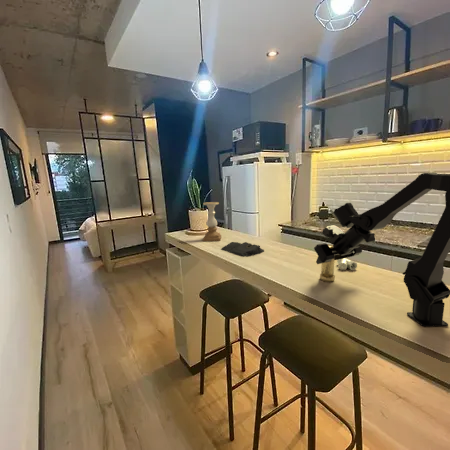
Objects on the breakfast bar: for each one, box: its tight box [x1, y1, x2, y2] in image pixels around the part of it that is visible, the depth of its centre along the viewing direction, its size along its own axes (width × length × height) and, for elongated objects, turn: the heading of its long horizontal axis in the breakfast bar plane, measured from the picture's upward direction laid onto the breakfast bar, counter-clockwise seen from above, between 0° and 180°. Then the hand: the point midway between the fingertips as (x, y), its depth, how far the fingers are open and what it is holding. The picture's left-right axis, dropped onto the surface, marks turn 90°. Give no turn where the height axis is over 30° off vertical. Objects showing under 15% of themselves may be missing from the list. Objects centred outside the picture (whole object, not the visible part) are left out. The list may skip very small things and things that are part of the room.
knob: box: [319, 243, 336, 283], centre depth 99 cm, size 5×5×13 cm
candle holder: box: [202, 201, 222, 242], centre depth 170 cm, size 11×11×24 cm
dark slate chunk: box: [220, 241, 265, 257], centre depth 143 cm, size 15×22×5 cm
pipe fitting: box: [336, 258, 358, 271], centre depth 112 cm, size 8×4×7 cm
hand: (324, 261), depth 100 cm, fingers open, 8 cm apart
